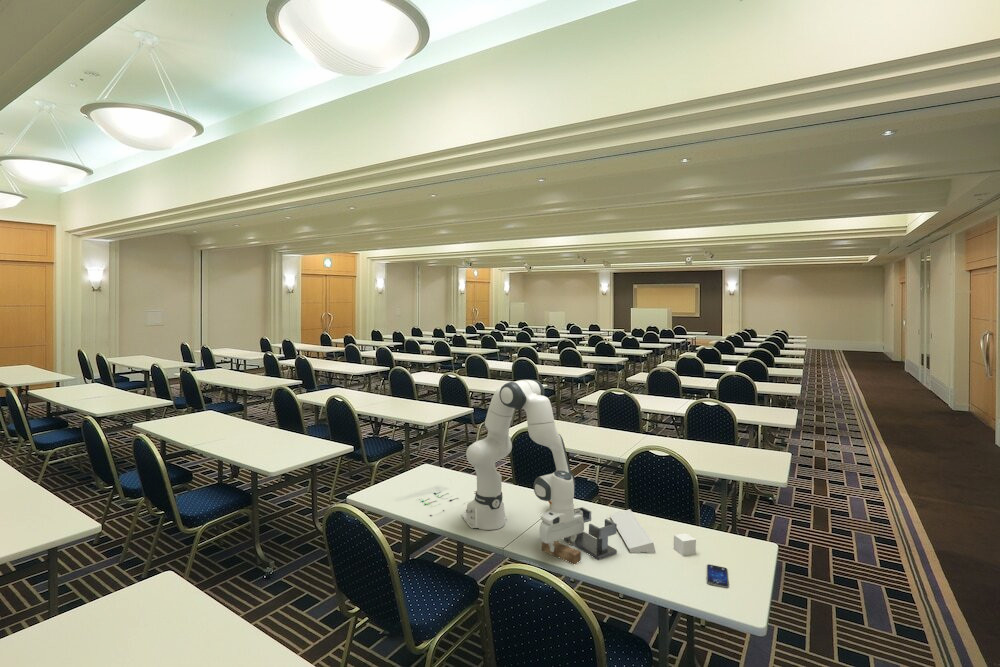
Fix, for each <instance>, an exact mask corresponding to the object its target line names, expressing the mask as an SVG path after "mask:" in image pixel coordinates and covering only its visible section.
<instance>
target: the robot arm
mask: <svg viewBox="0 0 1000 667" xmlns="http://www.w3.org/2000/svg"><path fill="white" fill-rule="evenodd" d="M522 409H523V410H524V411H525V414H526V422H527V432H528V436H529V437H530V439H531V440H532V441H533V442H534V443H536V444H538V445H541V446H544V447H547V448H548V449H549V450H550V451H551V452H552V456H553V461H554V465H555V471H554V472H552V473H548V474H544V475H541V476H538V477H536V478H535V480H534V483H533V491H534V492H533V493H534V495H535V496H536V497H537V499H539V500H541V501H543V502H544V501H545V502H548V501H551V503H552V505H551V508H550V507H549V509H547V510H546V511H544V512H543V513H541V515H540V520H541V522H540V525H539V540H540V541H541V543H542V542H544V543H546V544H547V543H548V544H549V546H550V551H551V552H555V551H556V547H555V546H553V544H554V541H557V542H558V541H559V540H562V539H563V540H564V538H566V537H570V536H571V539H570V540H569V542H568V546H569V547H573V546H574V541H575V539H576V537H577V534H580V533H583V532H585V523H584V520H583V512H582V510H580V509H577V508H576V509H577V510H574V509H575V504H574V497H575V487H576V480H575V477H574V475H573V472H572V470H571V467H570V463H569V458H568V454H567V449H566V446H565V443H564V439H563V437H562V435H561V433H560V432H558V431H557V428H556V425H555V418H554V416H555V415H554V412H553V407H552V404H551V400H550V398H548V397H547V396H545V387H544V385H543V384H542V382H540V381H538V380H536V379H519V380H516V381H509V382H507V383H505V384H503V385H502V386H499V387H498V388H497V389H495V391H494V394H493V396H492V399H491V401H490V403H489V406H488V409H487V413H486V417H485V420H484V426H485V428H486V429H487V434H486V437H485V438H483V439H479V440H476V441H475V442H473V443H472V444H470V445H469V446H468V447H467V449H466V453H465V454H466V459H467V461H468V462H469V464H470V465H471V466H472V467H473V468H474V470H475V475H476V491H473V492H474V494H475V495H474V500H472V501H471V502H469V503H467V505H466V509H465V512H462V513H461V518H462V517H463V518H464V519H463V518H462V519H463V521H464V522H465V521H466V522H467V523H468V524H467V523H466V522H465V523H466V524H467V526H468V525H469V526H470V527H471V528H470V527H469V526H468V527H469V528H470V529H473V528H479V529H478V530H484V531H490V530H491V531H493V530H498V529H501V528H503V527H504V526H505V525H506V524H505V523H506V521H507V520H508V518H507V516H505V515H506V514H505V503H504V502H503V492H502V477H503V476H502V474H501V473H500V472H499V471H497V469H496V462H497V461H500V460H502V459H504V458H506V456H508V455H509V454H510V453H511V451H512V449H513V444H512V441H511V439H510V436H509V431H510V427H511V423H512V419H513V416H514V412H515V410H518V411H520V410H522ZM574 547H575V546H574Z"/></svg>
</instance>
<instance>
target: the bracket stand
mask: <svg viewBox="0 0 1000 667" xmlns="http://www.w3.org/2000/svg"><path fill="white" fill-rule="evenodd" d="M577 509H580V510H582V512H583V520H584V524H585V523H588V522H591V521H592V511H591V510H589V509H587V508H586V507H583V506H581V507H578V508H574V510H577ZM614 535H617V524H615V523H614V522H613V521H612V520H609V519H607V518H606V519H604V526H603V527H598V526H596V525H595V524H593V523H589V524H588V533H587V532H585V531H583V533H580V534H577V537H576V539H575V541H574V547H576V549H578V550H580V551H582V550H583V551H582V552H584V553H586V554H587V553H588V554H587V555H589V554H590V555H589V556H590V557H592V556H593V557H592V558H594V559H596V560H597V561H599V560H603V559H604V558H608V557H611V556H614V555H616V554H617V552H618V550H617V549H616V548H615V547H612V546H610V545H609V537H611V536H614ZM570 539H571V536H570V537H566V538H563V540H564V541H566V542H567V543H569V540H570Z"/></svg>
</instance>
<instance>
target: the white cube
mask: <svg viewBox="0 0 1000 667" xmlns="http://www.w3.org/2000/svg"><path fill="white" fill-rule="evenodd" d="M696 543H697V539H696V538H695V537H693V536H691V535H690V534H689V533H687V532H686V533H677V534H674V535H673V548H672V549H673V550H674V551H675V552H677V553H678V554H679V555H681V556H682V557H685V556H690V555H696V550H697V547H696V546H697V544H696Z"/></svg>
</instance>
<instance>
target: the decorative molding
mask: <svg viewBox="0 0 1000 667" xmlns="http://www.w3.org/2000/svg"><path fill="white" fill-rule="evenodd" d="M609 517H610V519H611V522H613V523H615V524H617V528H616V530H617V531H618V533H619V534H620V537H621V538H622V540H623V541H624V543H625V545H626V547H627V548H628V551H629V552H630V554H633V553H635V554H640V553H642V554H643V553H647V554H656V548H655V544H654V541H653V540H652V538H651V537H650V535H649V534H648V532H646V530H645V528H644V527H643V526H642V524H641V523H640V521H639V520H638V519H637V517H636V516H635V514H634V512H633V511H632V509H631V508H630V509H626V510H622V511H618V512H614V513H610V514H609Z"/></svg>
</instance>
